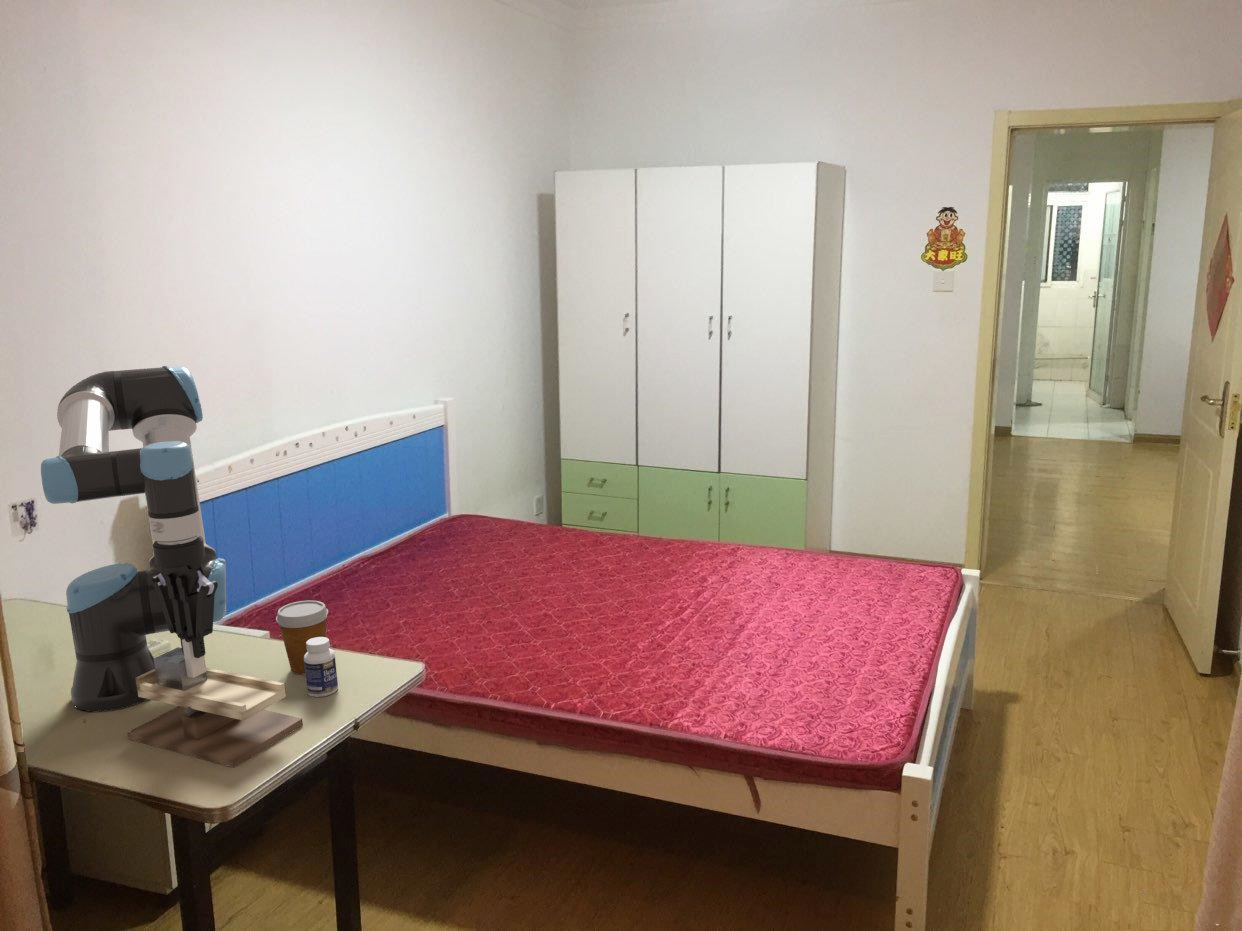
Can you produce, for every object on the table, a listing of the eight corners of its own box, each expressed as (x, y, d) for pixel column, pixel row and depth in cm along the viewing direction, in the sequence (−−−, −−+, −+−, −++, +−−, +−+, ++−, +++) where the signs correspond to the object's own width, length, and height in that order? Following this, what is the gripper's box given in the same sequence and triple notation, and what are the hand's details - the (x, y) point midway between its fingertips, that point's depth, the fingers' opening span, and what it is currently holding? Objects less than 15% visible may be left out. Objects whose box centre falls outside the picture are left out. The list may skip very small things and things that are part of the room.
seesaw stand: (128, 739, 168) (124, 711, 167) (200, 701, 181) (197, 675, 180) (234, 767, 157) (230, 738, 156) (302, 725, 170) (299, 697, 169)
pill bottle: (329, 698, 180) (324, 647, 178) (302, 697, 181) (296, 646, 179) (343, 685, 185) (338, 635, 183) (316, 684, 186) (311, 634, 184)
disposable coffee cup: (334, 673, 190) (328, 613, 188) (281, 681, 188) (274, 620, 185) (333, 654, 199) (327, 596, 197) (282, 661, 197) (275, 603, 194)
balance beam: (136, 704, 169) (132, 679, 168) (185, 679, 178) (182, 656, 177) (242, 728, 158) (238, 701, 157) (288, 701, 167) (285, 676, 166)
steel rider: (157, 686, 169) (153, 658, 168) (182, 674, 174) (178, 647, 173) (183, 691, 167) (178, 663, 166) (207, 679, 171) (203, 651, 170)
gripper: (129, 540, 162) (150, 676, 168) (187, 549, 157) (207, 689, 162) (168, 528, 169) (187, 659, 174) (225, 535, 163) (243, 671, 169)
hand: (196, 673), depth 168 cm, fingers closed
